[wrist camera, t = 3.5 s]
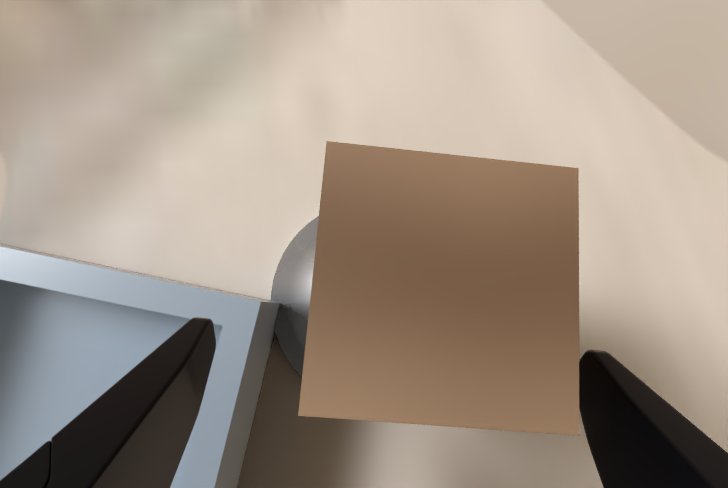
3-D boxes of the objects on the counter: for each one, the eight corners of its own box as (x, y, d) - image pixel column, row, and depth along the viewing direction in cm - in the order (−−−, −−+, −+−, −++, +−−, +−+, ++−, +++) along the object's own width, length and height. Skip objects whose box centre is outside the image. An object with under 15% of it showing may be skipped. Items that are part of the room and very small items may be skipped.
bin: (196, 655, 16) (132, 815, 11) (-169, 590, 15) (-410, 726, 10) (281, 303, 18) (260, 301, 13) (-33, 236, 18) (-177, 209, 13)
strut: (415, 349, 18) (579, 435, 6) (324, 341, 17) (297, 415, 5) (420, 258, 18) (578, 168, 6) (333, 250, 18) (326, 141, 6)
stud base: (451, 420, 18) (475, 445, 15) (251, 380, 17) (232, 396, 14) (482, 226, 19) (511, 210, 16) (298, 185, 19) (291, 161, 16)
